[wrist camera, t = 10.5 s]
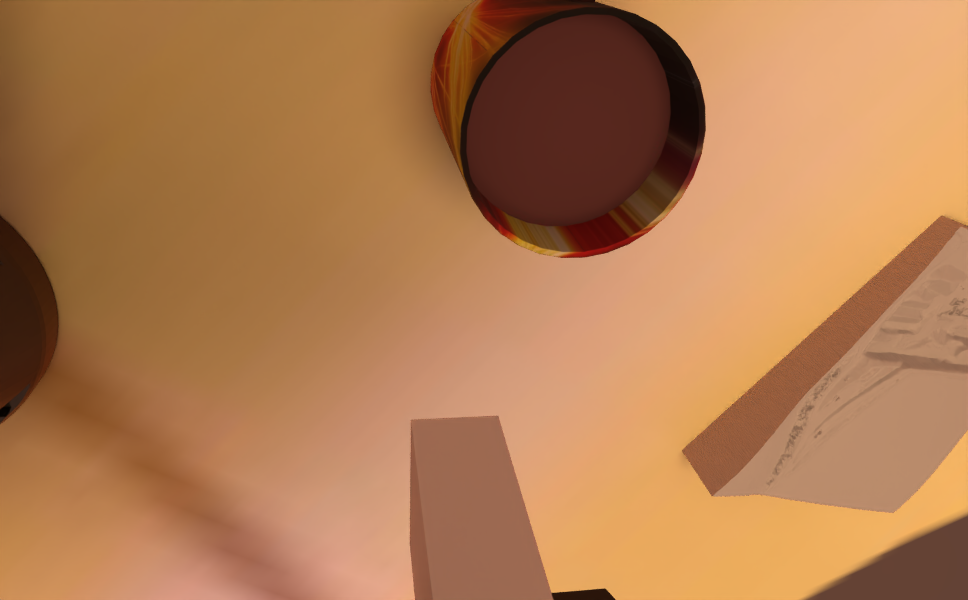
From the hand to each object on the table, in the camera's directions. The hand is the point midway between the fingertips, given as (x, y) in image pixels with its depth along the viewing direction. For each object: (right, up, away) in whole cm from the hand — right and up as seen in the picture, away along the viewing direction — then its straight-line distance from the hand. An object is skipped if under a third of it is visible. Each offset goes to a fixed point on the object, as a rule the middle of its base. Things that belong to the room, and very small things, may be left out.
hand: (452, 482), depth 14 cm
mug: (+2, +16, +26) cm, 31 cm away
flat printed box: (+26, -1, +39) cm, 47 cm away
